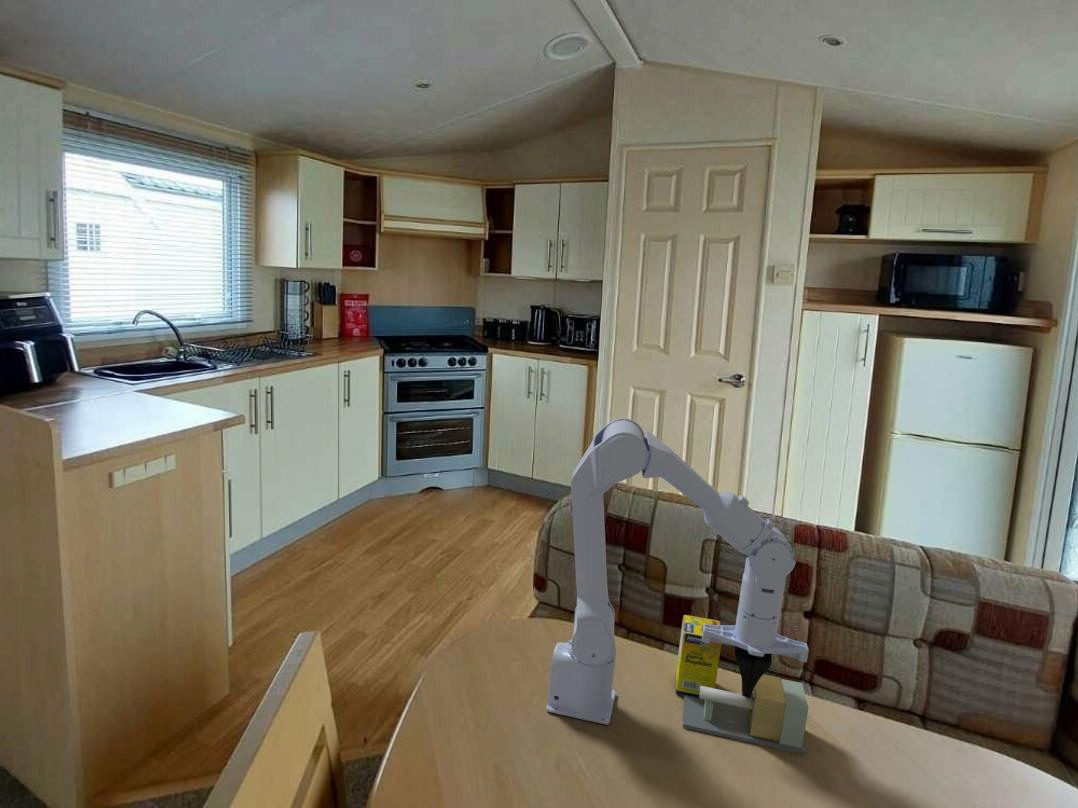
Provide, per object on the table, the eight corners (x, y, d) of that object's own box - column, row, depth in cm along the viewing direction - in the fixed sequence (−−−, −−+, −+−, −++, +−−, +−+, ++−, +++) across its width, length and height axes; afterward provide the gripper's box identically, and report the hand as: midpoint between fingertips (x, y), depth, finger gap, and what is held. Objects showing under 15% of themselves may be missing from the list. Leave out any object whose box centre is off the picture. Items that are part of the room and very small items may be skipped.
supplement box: (713, 702, 102) (723, 639, 99) (675, 695, 103) (683, 632, 101) (711, 680, 107) (720, 620, 105) (675, 673, 108) (683, 613, 106)
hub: (750, 735, 93) (756, 697, 92) (747, 708, 99) (752, 672, 98) (779, 741, 93) (785, 703, 91) (774, 714, 98) (780, 677, 97)
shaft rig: (682, 727, 95) (688, 685, 94) (684, 698, 102) (689, 658, 101) (805, 754, 92) (812, 711, 90) (798, 722, 98) (805, 681, 97)
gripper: (707, 613, 91) (695, 698, 94) (817, 633, 88) (801, 721, 90) (707, 590, 97) (696, 670, 100) (809, 608, 94) (794, 691, 97)
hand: (746, 693), depth 96 cm, fingers closed
